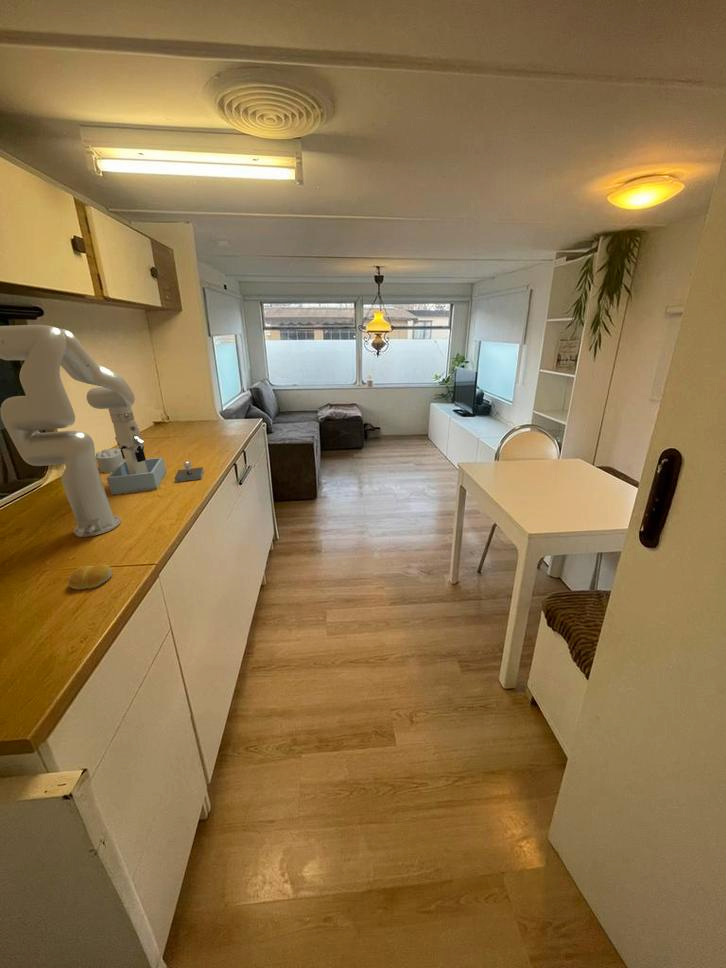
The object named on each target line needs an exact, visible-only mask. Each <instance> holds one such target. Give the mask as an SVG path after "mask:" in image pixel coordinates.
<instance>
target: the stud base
mask: <svg viewBox="0 0 726 968" xmlns="http://www.w3.org/2000/svg"><path fill="white" fill-rule="evenodd" d="M183 467H184V468H185V469H178V470H177V472H176V473H175V476H174V481H175V483H176V482H177V481H185V482H187V481H186V480H193V481H198V480H197V479H201V480H202V479H203V475H204V471H205V470H204V467H192V463H191V462H190V461H189V460H186V461H184V462H183ZM177 483H178V482H177Z"/></svg>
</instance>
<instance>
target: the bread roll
mask: <svg viewBox="0 0 726 968" xmlns="http://www.w3.org/2000/svg"><path fill="white" fill-rule="evenodd" d="M112 575H113V572H112V568H111V567H110V565H108V564H105V563H98V564H95V565H81V566H79V567H77V568H76V569H74V571H72V572H71V574H70V575H69V577H68V578H67V583H66V584H67V585H68V586H69V587H70V588H72V589H73V590H84V589H94V588H97V587H99V586H101V585H103V584H104V583H106V582H107V581H108V579H109V580H110V579H111V578H112ZM110 577H111V578H110ZM105 581H106V582H105ZM102 583H103V584H102ZM100 584H101V585H100ZM93 587H94V588H93Z"/></svg>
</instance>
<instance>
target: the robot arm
mask: <svg viewBox="0 0 726 968" xmlns="http://www.w3.org/2000/svg"><path fill="white" fill-rule="evenodd" d="M0 359H1V360H4V361H24V362H23V364H22V366H21V368H20V371H19V381H20V384H21V387H22V389H23V392H24V394H25V395H17V396H11V397H10V396H9V397H8V398H6V399H5V400H4V401H3V402H2V403H1V405H0V418H1V421H2V423H3V425H4V427H5V429H6V431H7V433H8V435H9V437H10V439H11V440H12V443H13V444H14V446H15V448H16V451H17V452H18V453H19V455H20V457H21V458H22V460H23V461H24V462H25V463H26V464H28V465H31V466H33V467H35V466H36V467H42V466H43V467H44V466H56V465H57V466H58V465H60V466H61V465H64V466H65V468H64V470H63V473H62V474H61V479H60V480H61V484H62V487H63V489H64V492H65V495H66V497H67V500H68V503H69V505H70V508H71V511H72V513H73V517H74V518H75V521H76V523H77V525H75V527H74V528H73V534H74V535H75V536H77V537H80V538H81V537H82V538H83V537H85V538H87V537H94V536H98V535H99V536H100V535H102V534H105V533H107V532H109V531H112V530H114V529H116V528H117V527H118V526H119V525H120V524H121V518H120V516H117V515H115V514H114V513H113V512H112V509H111V504H110V502H109V499H108V496H107V494H106V490H105V486H104V484H103V481H102V478H101V474H100V470H99V467H98V463H97V460H96V453H95V443H94V440H93V439H92V437H91V436H90V435H89V434H87V432H83V431H79V430H63V431H62V430H61V431H51V432H50V431H49V432H40V431H43V430H44V431H45V430H47V431H48V430H58V429H66V428H68V427H71V426H73V425H74V424H75V422H76V415H75V412H74V409H73V407H72V404H71V400H70V399H69V396H68V393H67V391H66V390H65V389H66V388H65V386H64V384H63V381H62V379H61V374H60V371H61V369H60V368H61V367H62V368H63V370H64V371H65V372H66V373H67V375H69V376H70V377H71V378H72V379H73V380H75V381H77V382H81V383H84V384H87V385H93V386H97V387H92V388H90V389H89V390H88V391H87V393H86V401H87V403H88V404H89V406H90V407H92V408H94V409H98V410H107V409H108V412H109V416H110V419H111V423H112V424H113V429H114V433H115V437H114V439H115V441H116V443H117V445H118V449H121V453H122V457H123V459H125V457H124V454H123V450H122V449H125V448H128V447H133V449H134V450H135V451H136V452H135V455H136V459H137V462H141V461H145V460H146V459H147V458H146V454H145V452H144V451H145V449H144V448H145V446H144V445H145V443H144V440H143V438H142V437H143V436H142V434H141V431H140V429H139V426H138V423H137V422H136V419H135V416H134V413H133V409H132V406H133V405H134V403H135V400H136V399H135V398H136V397H135V394H134V392H133V390H132V388H131V387H130V385H129V384H128V383H127V381H126V380H125V379H124V377H122V376H121V375H120V374H119V373H117V372H115V371H113V370H111V369H109V368H107V367H105V366H103V365H101V364H98V363H97V362H96V361H95V359H93V357H91V355H90V353H89V352H88V351H87V350H86V349H85V347H84V346H83V344H82V343H81V342H80V341H79V340H78V338H77V337H76V336H75V335H74V334H73V333H72V332H71V331H70V330H67V329H64V328H59V327H55V326H53V325H49V324H48V325H46V324H23V325H0ZM136 447H138V448H136Z"/></svg>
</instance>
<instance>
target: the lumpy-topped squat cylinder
mask: <svg viewBox="0 0 726 968" xmlns="http://www.w3.org/2000/svg"><path fill="white" fill-rule="evenodd" d="M95 458H96V464H97V467H98V470H99V472H100V471H101V472H100V473H102V472H104V473H103V474H111V472H113V471H114V470H115V469H116V468H117V466H118V465H119V464H120V463H121V462H125V459H123V457H122V453H121V449H119V448H116V447H115V448H112V447H111V448H108V449H103V450H101V451H97V452H96V453H95Z"/></svg>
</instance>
